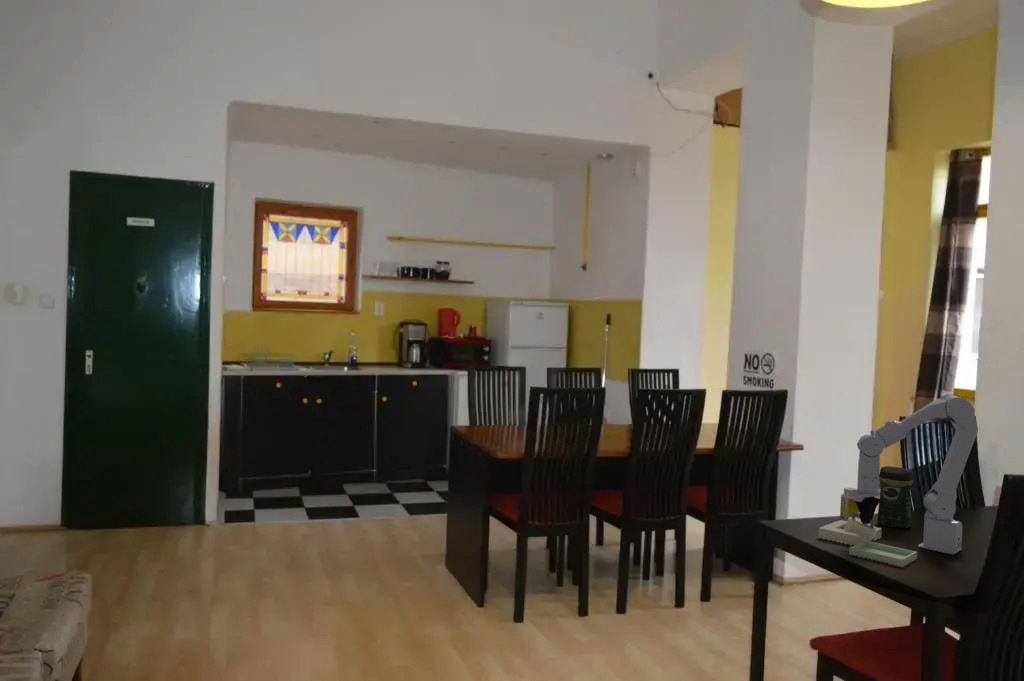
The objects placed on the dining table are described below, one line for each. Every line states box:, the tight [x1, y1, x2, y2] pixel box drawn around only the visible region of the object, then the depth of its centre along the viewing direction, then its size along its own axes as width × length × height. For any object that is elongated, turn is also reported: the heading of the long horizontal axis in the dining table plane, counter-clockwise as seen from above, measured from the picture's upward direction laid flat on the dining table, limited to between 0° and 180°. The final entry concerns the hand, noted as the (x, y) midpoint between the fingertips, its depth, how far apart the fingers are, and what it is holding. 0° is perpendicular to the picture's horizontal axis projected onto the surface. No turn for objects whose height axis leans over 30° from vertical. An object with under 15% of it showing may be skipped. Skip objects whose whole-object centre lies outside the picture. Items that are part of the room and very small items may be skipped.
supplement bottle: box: [839, 487, 860, 521], centre depth 260 cm, size 6×6×10 cm
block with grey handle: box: [844, 512, 877, 542], centre depth 236 cm, size 7×4×6 cm, turn 45°
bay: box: [818, 519, 883, 546], centre depth 238 cm, size 12×15×3 cm
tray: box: [848, 541, 918, 568], centre depth 220 cm, size 14×11×2 cm
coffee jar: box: [876, 465, 914, 529], centre depth 256 cm, size 10×8×19 cm
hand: (866, 522), depth 235 cm, fingers closed on block with grey handle
